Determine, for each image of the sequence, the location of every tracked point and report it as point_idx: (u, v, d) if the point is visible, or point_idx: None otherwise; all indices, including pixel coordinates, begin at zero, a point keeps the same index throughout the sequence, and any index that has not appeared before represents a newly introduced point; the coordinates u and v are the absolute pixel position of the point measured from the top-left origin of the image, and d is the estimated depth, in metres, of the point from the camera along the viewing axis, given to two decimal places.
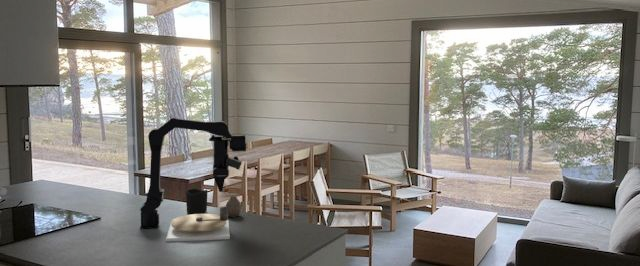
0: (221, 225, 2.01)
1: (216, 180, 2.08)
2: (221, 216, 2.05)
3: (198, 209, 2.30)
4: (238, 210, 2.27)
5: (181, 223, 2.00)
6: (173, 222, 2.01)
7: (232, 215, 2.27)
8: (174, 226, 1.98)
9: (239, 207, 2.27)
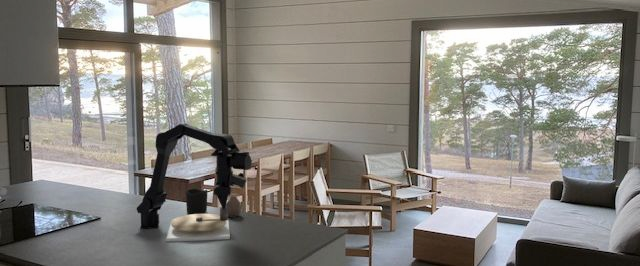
0: (221, 225, 2.01)
1: (219, 197, 1.97)
2: (221, 216, 2.05)
3: (198, 209, 2.30)
4: (238, 210, 2.27)
5: (181, 223, 2.00)
6: (173, 222, 2.01)
7: (232, 215, 2.27)
8: (174, 226, 1.98)
9: (239, 207, 2.27)
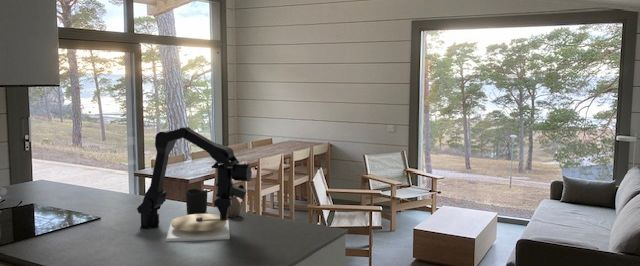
0: (221, 225, 2.01)
1: (219, 208, 2.01)
2: (221, 216, 2.06)
3: (198, 209, 2.30)
4: (238, 210, 2.27)
5: (181, 223, 2.00)
6: (173, 222, 2.01)
7: (232, 215, 2.27)
8: (174, 226, 1.98)
9: (239, 207, 2.27)
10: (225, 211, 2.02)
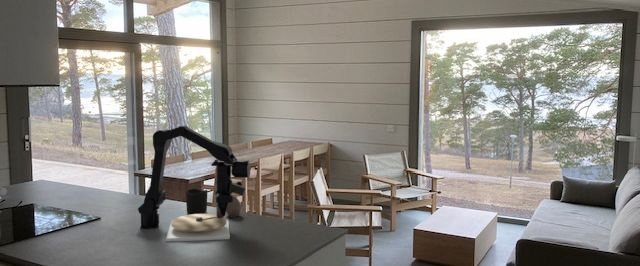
0: None
1: (219, 204, 2.05)
2: (219, 213, 2.10)
3: (198, 209, 2.30)
4: (238, 210, 2.27)
5: (189, 225, 1.98)
6: (178, 225, 1.97)
7: (232, 215, 2.27)
8: (184, 229, 1.95)
9: (239, 207, 2.27)
10: (225, 207, 2.06)
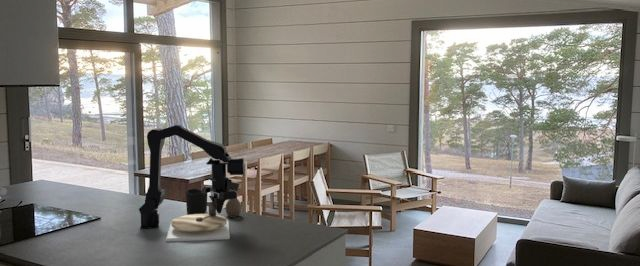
0: None
1: (217, 202, 2.09)
2: (213, 211, 2.12)
3: (198, 209, 2.30)
4: (238, 210, 2.27)
5: (198, 225, 1.98)
6: (188, 227, 1.95)
7: (232, 215, 2.27)
8: (197, 229, 1.95)
9: (239, 207, 2.27)
10: (222, 205, 2.11)
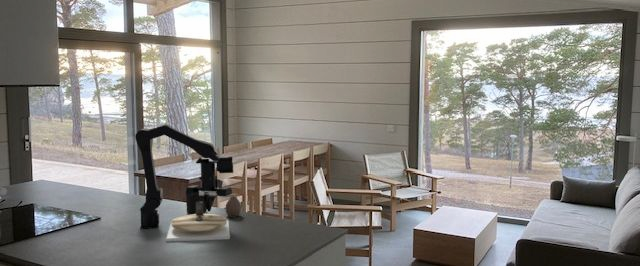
0: None
1: (210, 200, 2.12)
2: (202, 211, 2.13)
3: None
4: (238, 210, 2.27)
5: (209, 224, 1.99)
6: (203, 227, 1.96)
7: (232, 215, 2.27)
8: (213, 227, 1.97)
9: (239, 207, 2.27)
10: (212, 203, 2.14)
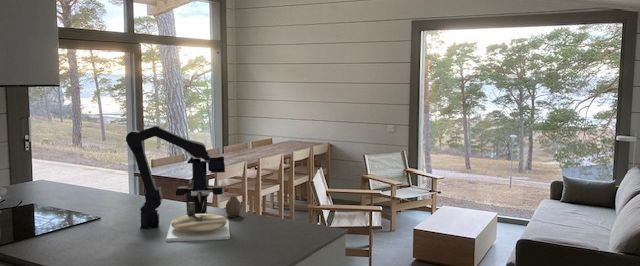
0: None
1: (204, 200, 2.12)
2: (194, 211, 2.12)
3: (198, 209, 2.30)
4: (238, 210, 2.27)
5: (214, 223, 2.02)
6: (212, 226, 1.98)
7: (232, 215, 2.27)
8: (220, 225, 2.00)
9: (239, 207, 2.27)
10: (203, 202, 2.15)
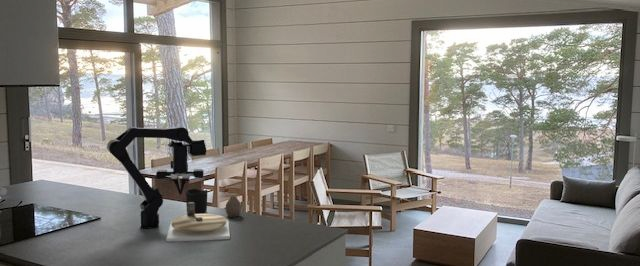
0: None
1: (184, 183, 2.14)
2: (194, 211, 2.12)
3: (198, 209, 2.30)
4: (238, 210, 2.27)
5: (214, 223, 2.02)
6: (212, 225, 1.98)
7: (232, 215, 2.27)
8: (220, 225, 2.00)
9: (239, 207, 2.27)
10: None
